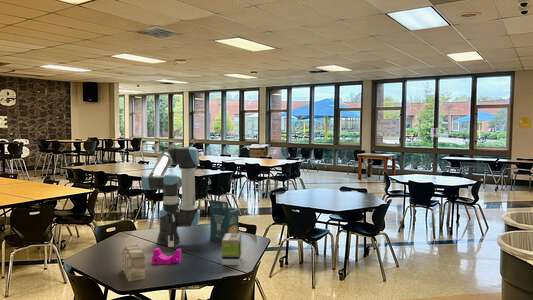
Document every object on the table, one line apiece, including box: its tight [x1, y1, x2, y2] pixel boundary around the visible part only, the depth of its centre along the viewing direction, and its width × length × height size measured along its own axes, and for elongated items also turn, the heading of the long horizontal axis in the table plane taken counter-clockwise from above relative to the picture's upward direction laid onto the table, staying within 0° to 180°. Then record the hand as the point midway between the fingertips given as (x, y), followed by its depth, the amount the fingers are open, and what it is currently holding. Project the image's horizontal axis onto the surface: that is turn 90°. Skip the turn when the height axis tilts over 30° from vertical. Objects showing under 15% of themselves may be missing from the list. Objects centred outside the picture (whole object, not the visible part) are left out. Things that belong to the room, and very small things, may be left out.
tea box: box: [221, 232, 242, 266], centre depth 233 cm, size 15×10×15 cm, turn 178°
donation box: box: [209, 199, 240, 243], centre depth 280 cm, size 16×16×28 cm
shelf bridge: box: [122, 243, 146, 282], centre depth 210 cm, size 18×8×14 cm, turn 28°
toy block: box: [151, 247, 182, 265], centre depth 230 cm, size 15×6×8 cm, turn 86°
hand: (170, 246), depth 219 cm, fingers closed
